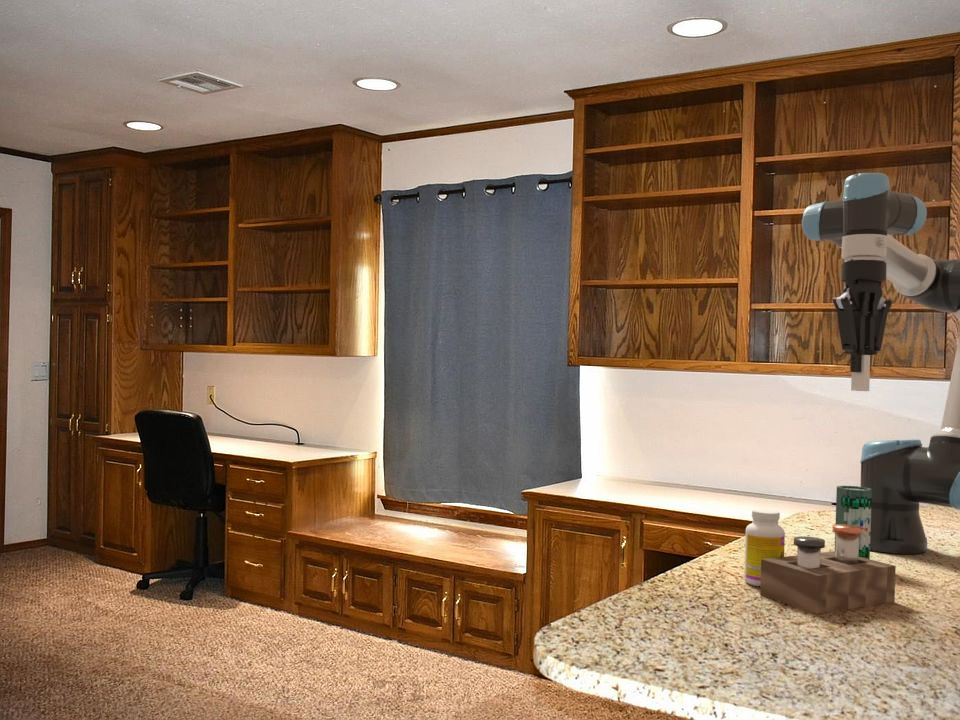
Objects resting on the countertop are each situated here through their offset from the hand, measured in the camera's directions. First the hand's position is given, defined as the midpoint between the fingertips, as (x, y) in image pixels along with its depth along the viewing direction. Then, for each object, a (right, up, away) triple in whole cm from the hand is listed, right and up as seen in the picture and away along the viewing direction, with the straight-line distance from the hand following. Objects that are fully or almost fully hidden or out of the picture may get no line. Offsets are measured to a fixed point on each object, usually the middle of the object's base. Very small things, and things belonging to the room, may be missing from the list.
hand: (860, 390), depth 163 cm
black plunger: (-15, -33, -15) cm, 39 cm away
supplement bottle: (-19, -34, -4) cm, 39 cm away
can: (+4, -35, +13) cm, 37 cm away
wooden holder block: (-11, -34, -13) cm, 38 cm away
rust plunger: (-7, -32, -11) cm, 34 cm away
